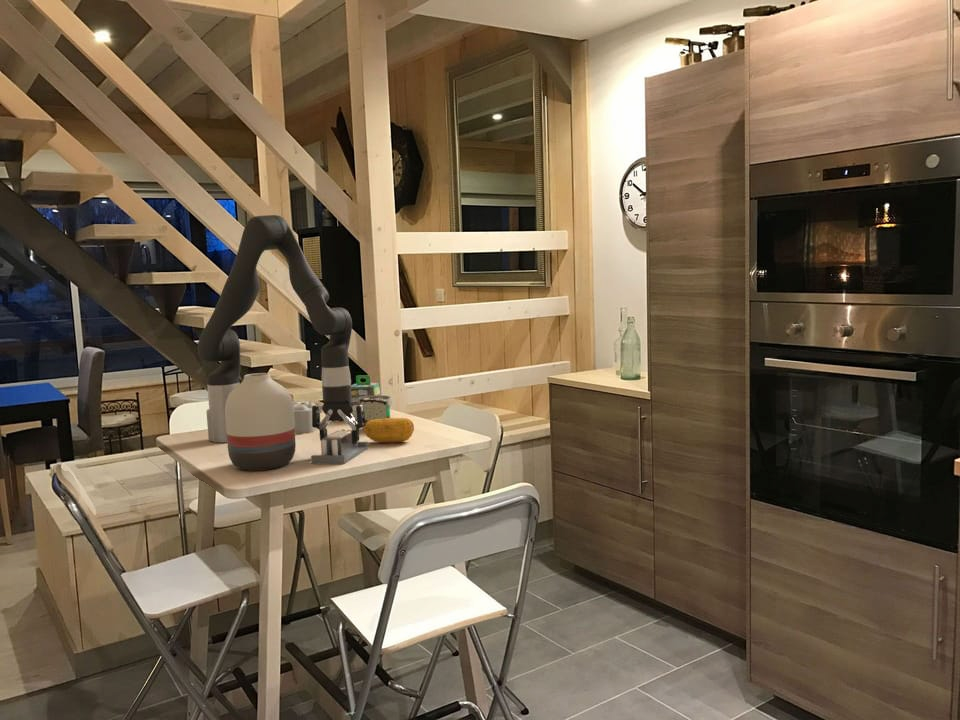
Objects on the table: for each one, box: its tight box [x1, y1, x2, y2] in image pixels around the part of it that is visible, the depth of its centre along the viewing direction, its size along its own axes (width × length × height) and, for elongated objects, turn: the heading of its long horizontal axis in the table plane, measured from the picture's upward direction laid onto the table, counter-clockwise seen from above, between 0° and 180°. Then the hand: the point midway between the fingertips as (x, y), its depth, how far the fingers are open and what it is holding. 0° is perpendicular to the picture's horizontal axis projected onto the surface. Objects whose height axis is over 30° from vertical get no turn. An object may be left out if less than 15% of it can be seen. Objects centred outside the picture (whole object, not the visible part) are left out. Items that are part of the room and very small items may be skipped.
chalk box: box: [351, 374, 381, 421], centre depth 261 cm, size 9×9×15 cm
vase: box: [225, 372, 297, 471], centre depth 199 cm, size 17×17×24 cm
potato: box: [363, 417, 415, 444], centre depth 222 cm, size 7×14×7 cm, turn 81°
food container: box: [358, 394, 394, 430], centre depth 243 cm, size 12×6×10 cm, turn 58°
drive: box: [322, 430, 356, 456], centre depth 207 cm, size 5×10×5 cm, turn 167°
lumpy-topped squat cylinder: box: [293, 400, 319, 435], centre depth 245 cm, size 10×13×9 cm
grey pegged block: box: [310, 428, 369, 465], centre depth 207 cm, size 9×17×6 cm, turn 168°
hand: (339, 443), depth 207 cm, fingers open, 8 cm apart
